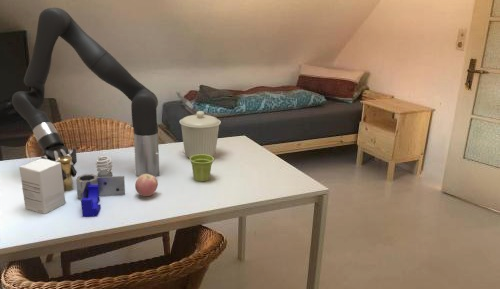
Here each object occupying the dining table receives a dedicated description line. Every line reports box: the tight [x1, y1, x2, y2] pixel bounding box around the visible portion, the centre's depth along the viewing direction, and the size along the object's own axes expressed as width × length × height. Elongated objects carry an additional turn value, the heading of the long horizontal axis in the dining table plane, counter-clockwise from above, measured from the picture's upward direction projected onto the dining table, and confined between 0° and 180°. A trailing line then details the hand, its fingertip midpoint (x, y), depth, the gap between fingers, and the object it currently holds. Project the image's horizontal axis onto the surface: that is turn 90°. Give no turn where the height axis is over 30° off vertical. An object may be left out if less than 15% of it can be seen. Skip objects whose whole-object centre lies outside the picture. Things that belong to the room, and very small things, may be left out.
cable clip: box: [80, 185, 102, 218], centre depth 143 cm, size 12×4×6 cm, turn 8°
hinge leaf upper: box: [75, 173, 126, 197], centre depth 152 cm, size 16×7×7 cm, turn 102°
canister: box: [179, 110, 222, 159], centre depth 192 cm, size 18×18×21 cm
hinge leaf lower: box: [76, 181, 89, 207], centre depth 147 cm, size 7×16×7 cm, turn 12°
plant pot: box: [189, 154, 215, 183], centre depth 169 cm, size 9×9×9 cm
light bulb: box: [95, 155, 113, 177], centre depth 159 cm, size 6×6×12 cm
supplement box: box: [19, 158, 66, 215], centre depth 141 cm, size 9×9×15 cm
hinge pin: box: [58, 155, 74, 192], centre depth 155 cm, size 5×5×12 cm
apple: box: [134, 174, 159, 197], centre depth 153 cm, size 8×8×8 cm
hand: (69, 177), depth 154 cm, fingers closed on hinge pin, 3 cm apart
